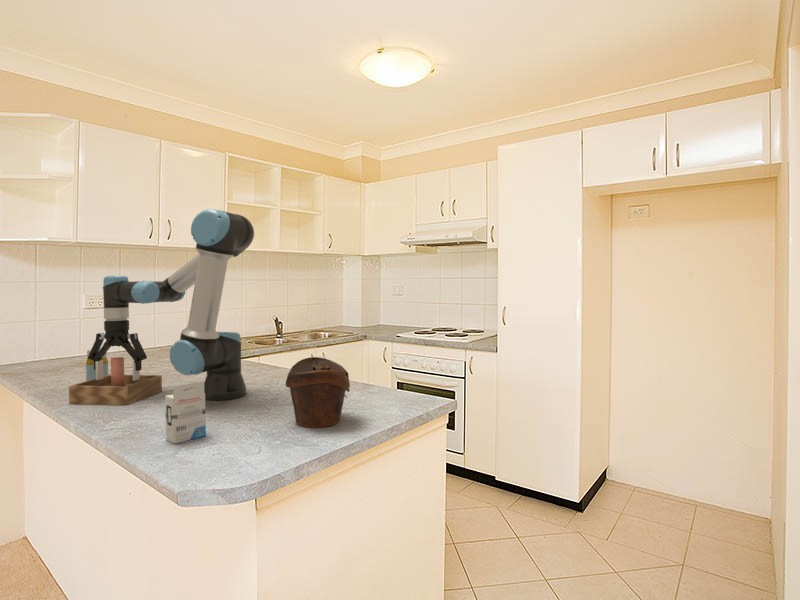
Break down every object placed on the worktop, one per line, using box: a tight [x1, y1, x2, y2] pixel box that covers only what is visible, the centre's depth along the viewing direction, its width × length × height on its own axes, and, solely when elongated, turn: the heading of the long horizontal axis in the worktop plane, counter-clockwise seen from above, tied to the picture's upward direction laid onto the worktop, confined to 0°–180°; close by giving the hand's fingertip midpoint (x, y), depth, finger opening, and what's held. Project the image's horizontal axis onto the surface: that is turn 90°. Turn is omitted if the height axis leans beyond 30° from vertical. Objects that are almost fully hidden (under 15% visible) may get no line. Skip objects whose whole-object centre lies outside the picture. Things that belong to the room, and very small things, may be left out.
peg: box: [110, 356, 125, 387], centre depth 162 cm, size 4×4×14 cm
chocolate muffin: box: [285, 356, 351, 429], centre depth 134 cm, size 18×20×18 cm
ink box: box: [164, 380, 207, 444], centre depth 120 cm, size 8×5×15 cm, turn 140°
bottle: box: [85, 348, 109, 381], centre depth 175 cm, size 7×7×15 cm
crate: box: [68, 373, 163, 406], centre depth 162 cm, size 20×20×6 cm
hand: (117, 379), depth 162 cm, fingers open, 13 cm apart
